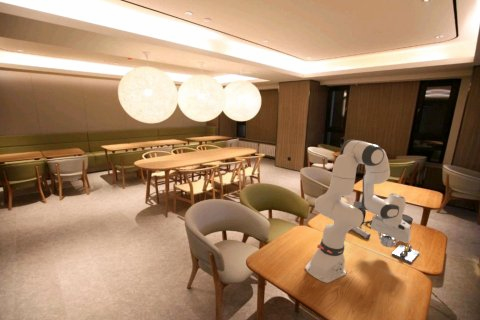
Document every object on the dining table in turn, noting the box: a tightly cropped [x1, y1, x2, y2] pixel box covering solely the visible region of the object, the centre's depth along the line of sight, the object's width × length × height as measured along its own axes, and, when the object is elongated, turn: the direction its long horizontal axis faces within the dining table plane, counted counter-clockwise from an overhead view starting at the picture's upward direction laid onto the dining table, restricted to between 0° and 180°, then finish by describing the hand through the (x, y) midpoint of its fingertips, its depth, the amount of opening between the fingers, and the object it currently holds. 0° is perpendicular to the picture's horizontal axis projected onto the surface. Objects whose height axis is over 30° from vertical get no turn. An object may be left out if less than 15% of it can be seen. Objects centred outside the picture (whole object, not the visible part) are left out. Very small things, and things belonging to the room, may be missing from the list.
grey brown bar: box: [351, 226, 371, 240], centre depth 168 cm, size 5×7×25 cm
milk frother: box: [353, 201, 373, 225], centre depth 178 cm, size 14×16×15 cm
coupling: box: [380, 233, 395, 249], centre depth 138 cm, size 6×6×5 cm
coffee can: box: [402, 213, 414, 231], centre depth 162 cm, size 10×10×14 cm
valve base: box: [391, 244, 420, 265], centre depth 142 cm, size 15×10×5 cm, turn 129°
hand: (387, 241), depth 138 cm, fingers closed on coupling, 6 cm apart
